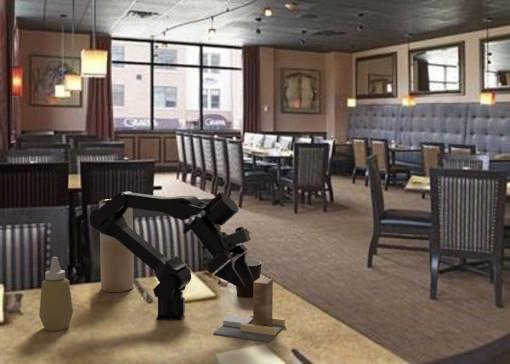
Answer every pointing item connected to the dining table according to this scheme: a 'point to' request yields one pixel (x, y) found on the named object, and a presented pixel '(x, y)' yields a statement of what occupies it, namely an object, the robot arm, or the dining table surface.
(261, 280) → the wooden block
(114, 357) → the dining table surface
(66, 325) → the squeeze bottle
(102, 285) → the vase
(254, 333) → the underlay
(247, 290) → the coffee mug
